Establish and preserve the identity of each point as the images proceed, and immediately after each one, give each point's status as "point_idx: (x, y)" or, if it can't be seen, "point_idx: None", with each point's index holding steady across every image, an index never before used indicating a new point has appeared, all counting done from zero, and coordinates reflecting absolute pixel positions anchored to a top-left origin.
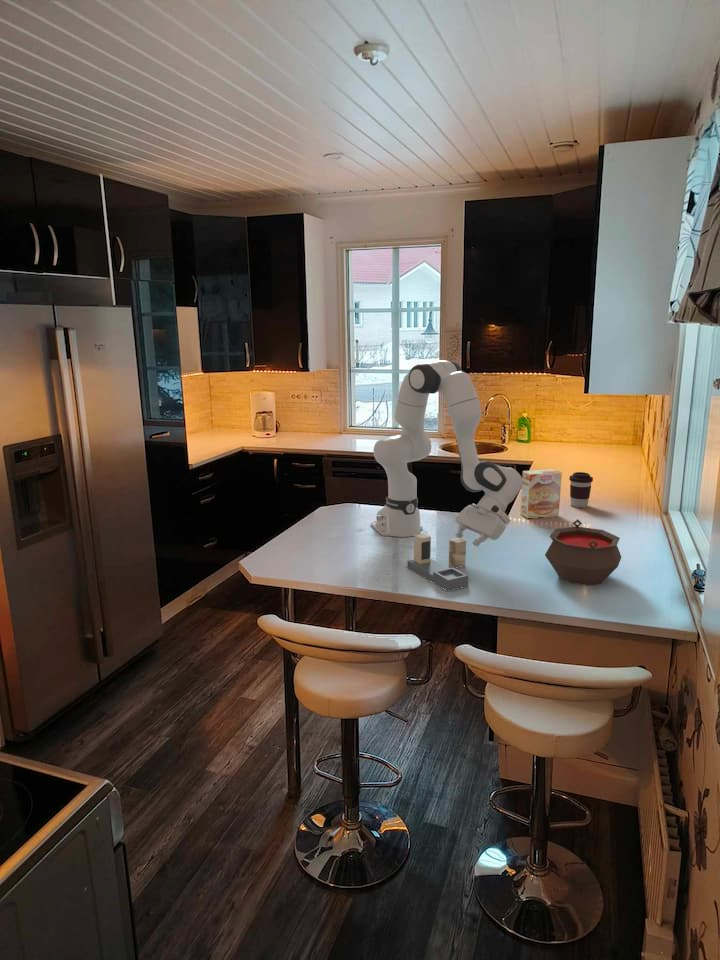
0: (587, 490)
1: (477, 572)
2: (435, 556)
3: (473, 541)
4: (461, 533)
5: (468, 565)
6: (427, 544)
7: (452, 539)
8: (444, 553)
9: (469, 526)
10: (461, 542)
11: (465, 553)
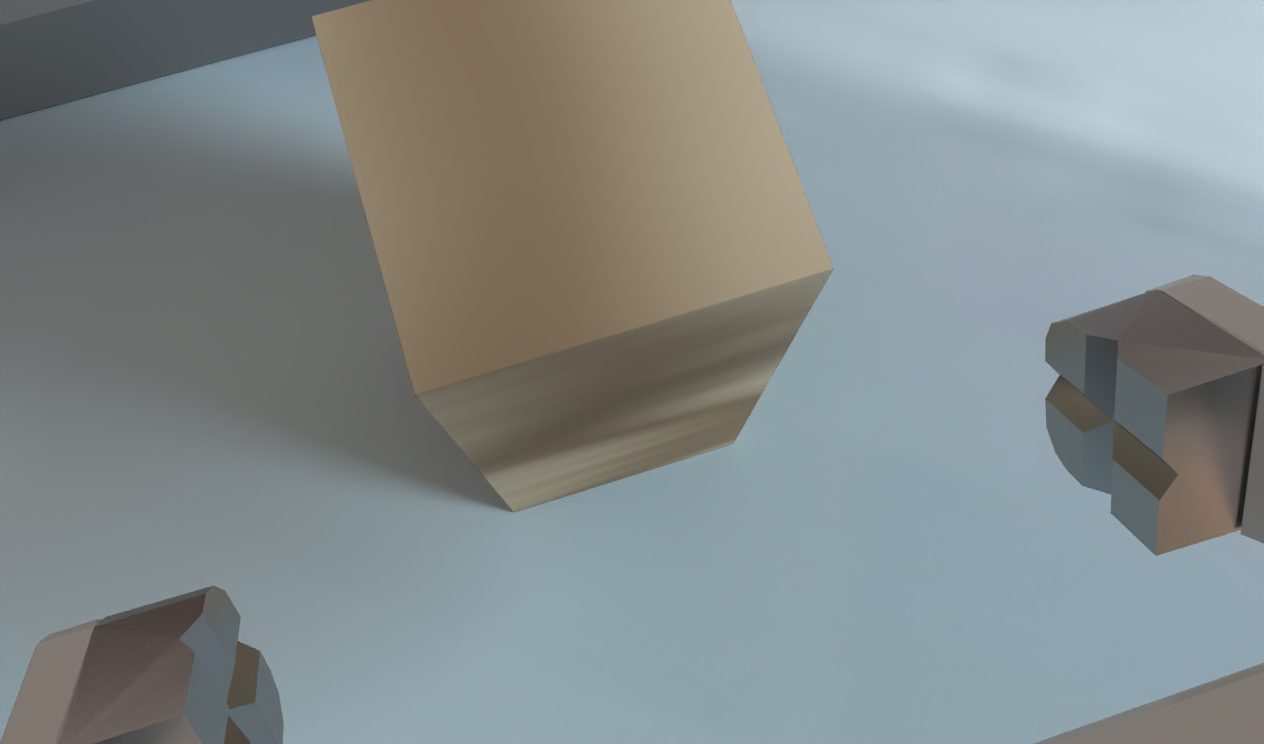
0: None
1: None
2: (1103, 139)
3: (196, 621)
4: (1158, 451)
5: (532, 587)
6: None
7: (683, 4)
8: None
9: (1074, 734)
10: (364, 209)
11: (479, 465)
